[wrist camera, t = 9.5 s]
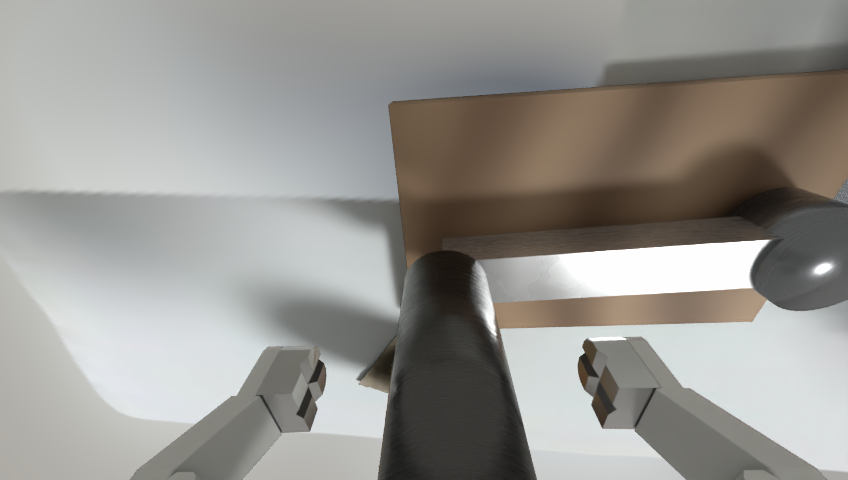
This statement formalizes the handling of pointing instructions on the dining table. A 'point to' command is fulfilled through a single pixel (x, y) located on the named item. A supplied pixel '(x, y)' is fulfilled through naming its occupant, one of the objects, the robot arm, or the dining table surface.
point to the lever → (575, 278)
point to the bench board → (615, 171)
